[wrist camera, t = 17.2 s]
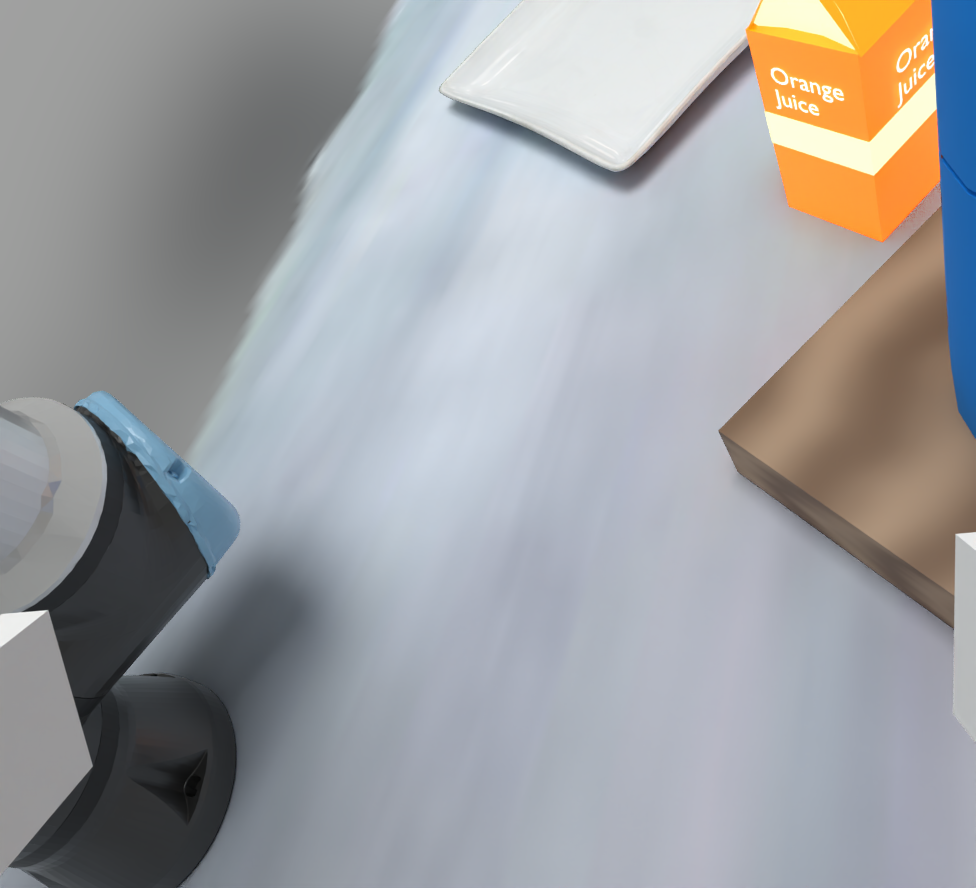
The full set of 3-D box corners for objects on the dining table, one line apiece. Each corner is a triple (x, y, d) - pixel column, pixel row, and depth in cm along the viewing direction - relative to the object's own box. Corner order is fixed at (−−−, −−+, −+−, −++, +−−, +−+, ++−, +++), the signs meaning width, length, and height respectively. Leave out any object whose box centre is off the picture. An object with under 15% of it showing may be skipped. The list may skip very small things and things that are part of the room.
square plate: (636, -70, 86) (624, -108, 83) (865, -32, 68) (860, -77, 65) (449, 114, 85) (430, 83, 82) (633, 203, 67) (617, 167, 64)
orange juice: (786, 206, 60) (720, -59, 44) (869, 118, 60) (831, -173, 45) (884, 244, 54) (847, -41, 39) (974, 147, 55) (971, -170, 40)
